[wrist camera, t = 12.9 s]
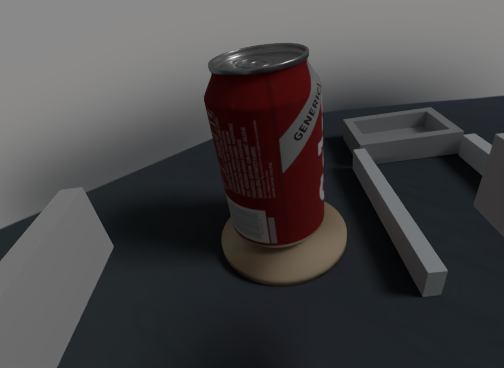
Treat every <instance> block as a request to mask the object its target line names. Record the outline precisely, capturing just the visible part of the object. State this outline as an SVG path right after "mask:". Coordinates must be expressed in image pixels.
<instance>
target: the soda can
mask: <svg viewBox="0 0 504 368" xmlns="http://www.w3.org/2000/svg"><path fill="white" fill-rule="evenodd" d="M308 56H309V49H308V48H307V47H306V46H304V45H301V44H294V43H275V44H265V45H257V46H251V47H246V48H241V49H237V50H233V51H230V52H227V53H224V54H221V55H219V56H217V57H215V58H213V59H212V60H211V61H209V63H208V68H209V70H210V72H211V73H212V75H211V79H210V81H209V84H208V87H207V89H206V92H205V96H204V102H205V106H206V110H207V115H208V119H209V123H210V127H211V132H212V136H213V141H214V145H215V149H216V154H217V158H218V162H219V167H220V171H221V175H222V180H223V184H224V188H225V193H226V197H227V201H228V206H229V210H230V214H231V218H232V223H233V226H234V229H235V231H236V232H237V234H238V235H239V236H240V237H241V238H242V239H244V240H245V241H247V242H249V243H251V244H254V245H257V246H260V247H267V248H282V247H288V246H292V245H296V244H298V243H301V242H303V241H305V240H307V239H308V238H310V237H311V236H313V235H314V234H315V233H316V232H317V231H318V230H319V228H320V227H321V225H322V223H323V220H324V173H323V125H322V85H321V84H322V83H321V80H320V78H319V76H318V75H317V73H316V72H315V70H314V69H313V68H312V66H311V65H310V64H309V62H308V60H307V58H308Z"/></svg>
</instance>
